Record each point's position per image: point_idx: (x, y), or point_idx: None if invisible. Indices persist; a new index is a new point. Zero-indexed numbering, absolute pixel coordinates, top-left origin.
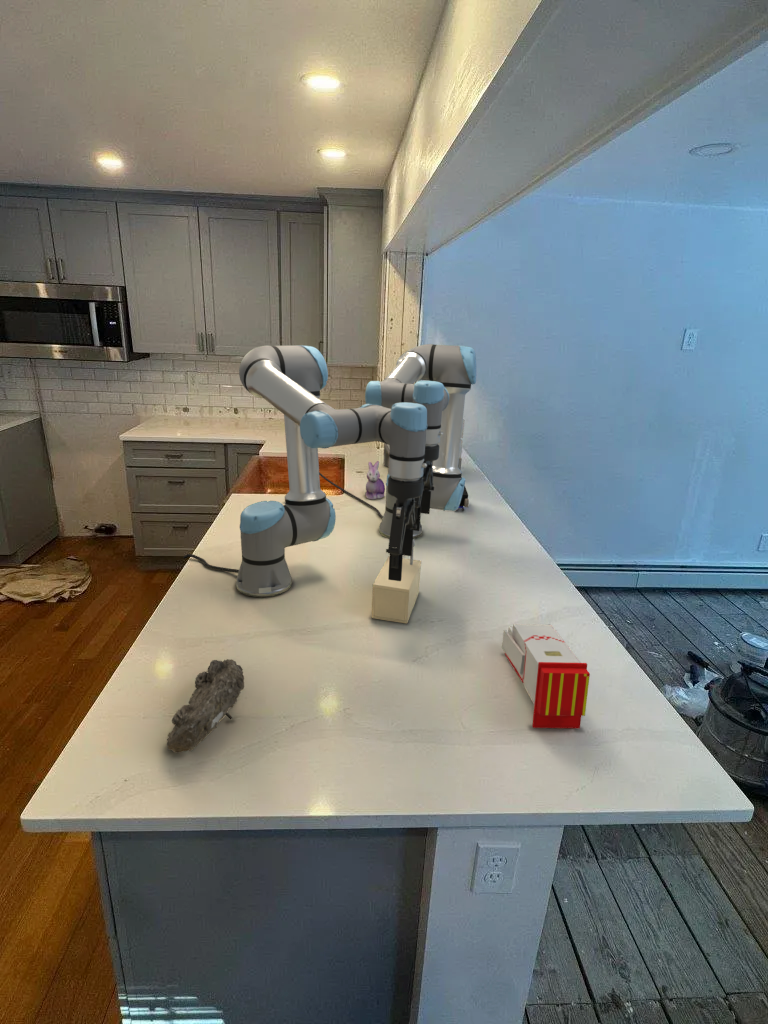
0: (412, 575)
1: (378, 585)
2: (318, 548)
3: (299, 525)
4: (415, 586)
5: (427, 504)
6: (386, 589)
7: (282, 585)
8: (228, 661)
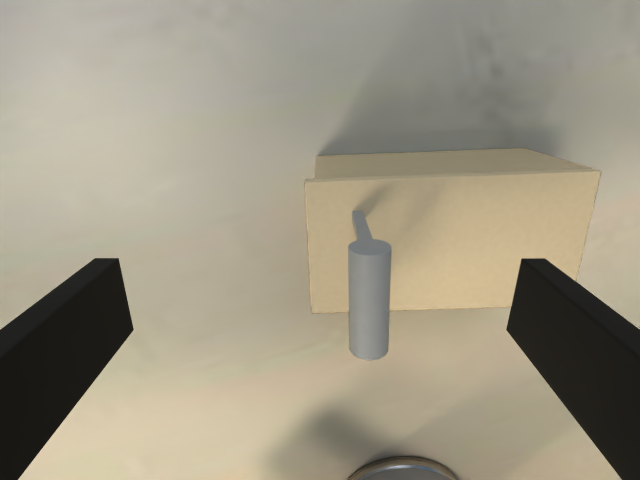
0: (467, 187)
1: None
2: (158, 472)
3: None
4: (418, 164)
5: (70, 324)
6: None
7: (434, 478)
8: None
